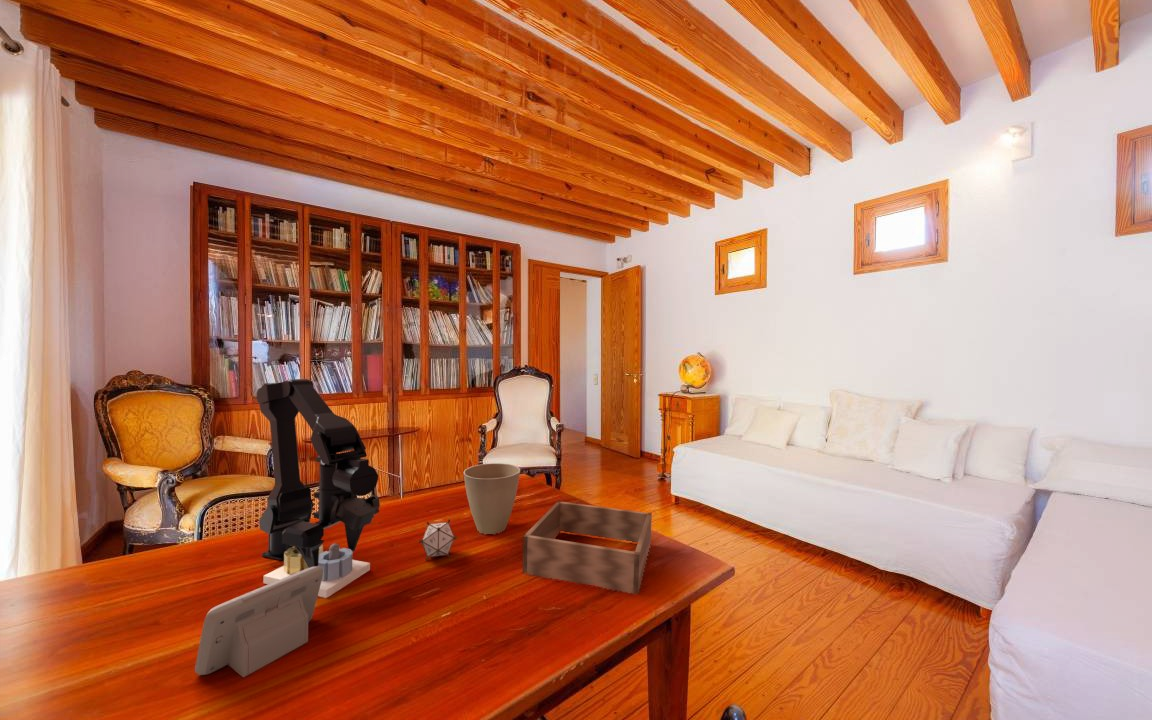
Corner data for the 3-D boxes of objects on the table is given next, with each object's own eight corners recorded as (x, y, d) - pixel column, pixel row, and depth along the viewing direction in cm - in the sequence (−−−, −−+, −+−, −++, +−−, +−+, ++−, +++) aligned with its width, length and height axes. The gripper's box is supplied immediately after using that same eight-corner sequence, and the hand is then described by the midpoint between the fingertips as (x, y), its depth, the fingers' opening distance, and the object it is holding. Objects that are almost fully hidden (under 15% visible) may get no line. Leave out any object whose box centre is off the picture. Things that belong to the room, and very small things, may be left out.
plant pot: (492, 514, 123) (493, 460, 123) (530, 527, 114) (531, 469, 114) (450, 530, 111) (451, 471, 110) (489, 547, 102) (490, 482, 102)
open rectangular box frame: (522, 583, 90) (523, 536, 90) (556, 538, 112) (557, 501, 112) (637, 605, 83) (639, 554, 83) (650, 553, 105) (651, 513, 105)
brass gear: (277, 574, 85) (277, 557, 84) (295, 558, 91) (296, 542, 91) (312, 573, 85) (312, 556, 85) (327, 557, 92) (328, 541, 92)
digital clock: (313, 615, 75) (314, 555, 74) (332, 638, 69) (333, 574, 68) (190, 664, 62) (191, 593, 62) (200, 698, 56) (201, 620, 56)
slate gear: (307, 577, 84) (307, 560, 84) (334, 562, 90) (334, 546, 90) (333, 583, 82) (333, 565, 82) (359, 567, 88) (359, 551, 88)
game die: (441, 575, 95) (442, 553, 90) (410, 558, 97) (409, 535, 91) (463, 543, 103) (466, 520, 97) (434, 527, 104) (435, 503, 98)
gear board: (263, 583, 84) (263, 546, 84) (312, 558, 95) (312, 525, 94) (326, 598, 80) (326, 559, 79) (369, 569, 90) (370, 535, 90)
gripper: (327, 506, 74) (326, 593, 75) (399, 477, 92) (398, 547, 93) (280, 498, 78) (278, 582, 78) (358, 472, 96) (357, 540, 96)
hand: (334, 561), depth 86 cm, fingers open, 9 cm apart
